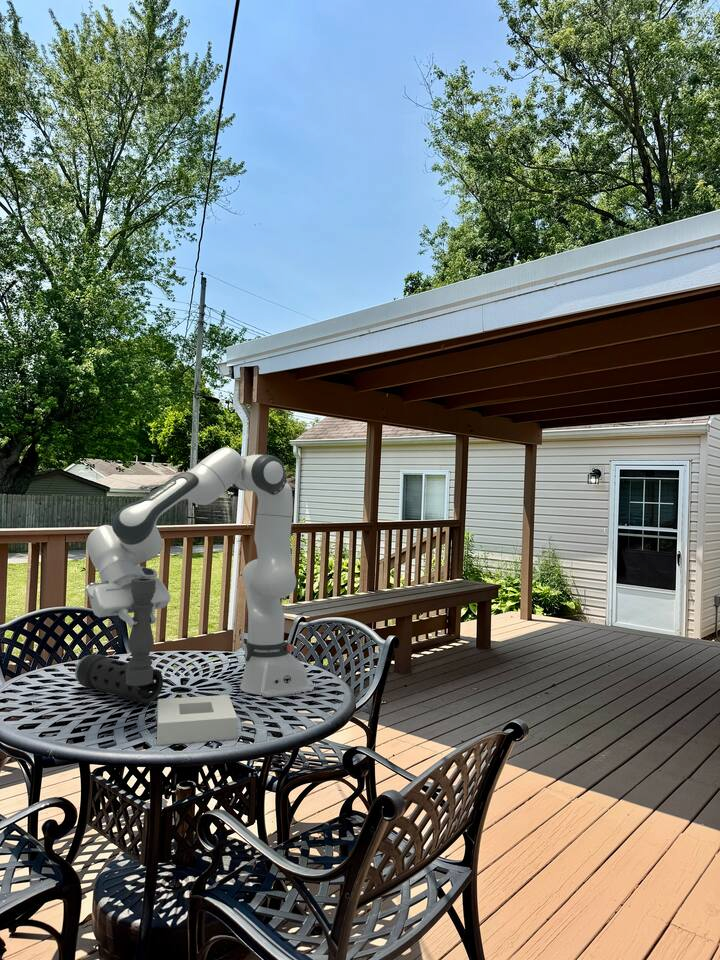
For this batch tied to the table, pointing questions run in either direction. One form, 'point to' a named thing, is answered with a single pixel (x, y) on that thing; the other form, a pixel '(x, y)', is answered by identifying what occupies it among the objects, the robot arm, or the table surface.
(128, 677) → the candle holder
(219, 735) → the socket block
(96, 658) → the muzzle brake
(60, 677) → the table surface
